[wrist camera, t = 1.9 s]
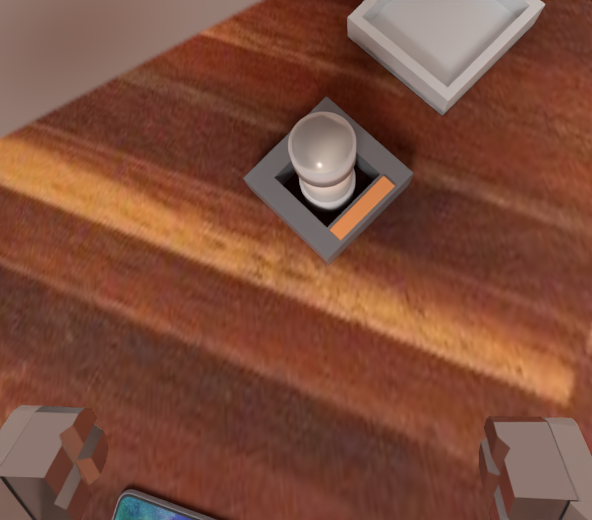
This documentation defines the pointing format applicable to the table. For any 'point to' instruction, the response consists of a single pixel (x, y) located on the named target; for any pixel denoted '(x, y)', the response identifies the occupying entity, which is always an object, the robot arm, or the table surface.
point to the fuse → (324, 160)
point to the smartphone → (151, 508)
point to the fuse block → (357, 216)
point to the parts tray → (440, 40)
